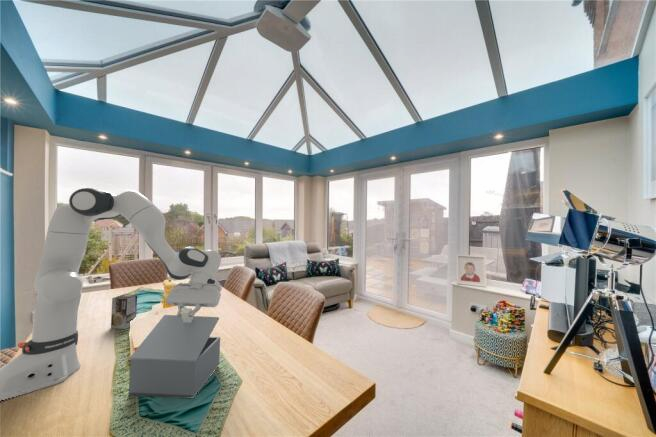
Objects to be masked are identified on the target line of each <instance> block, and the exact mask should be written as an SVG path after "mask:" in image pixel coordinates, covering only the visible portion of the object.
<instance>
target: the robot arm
mask: <svg viewBox="0 0 656 437" xmlns="http://www.w3.org/2000/svg"><path fill="white" fill-rule="evenodd" d="M68 202H69V203H67V204H61V205H59V206H58V207H57V208H55V210H54V212H53V214H52V216H51V219H50V221H49V225H48V227H47V231H46V236H45V240H44V246H43V249H42V254H41V257H40V259H39V263H38V266H37V271H36V273H35V278H34V282H33V286H34V289H35V290H36V301H35V307H34V313H33V314H34V315H33V319H32V332H31V333H32V334H31V339H30V340H28V341H25V340H21V341H20V342H19V343H17V347H18V348H19V349H21V353H20V354H19V355H17V356H15V357H14V358H12V359H11V360H10V361H9V362H7V363H6V364H4V365H3V366H1V367H0V401H1V400H4V399H7V400H9V399H8V398H10V399H13V398H12V397H14V398H16V396H17V397H19V396H18V395H20V396H23V395H25V393H26V394H29V393H31V392H32V393H33V392H34V391H37V390H41V389H44V388H47V387H50V386H53V385H56V384H60V383H63V382H65V381H66V379H67V378H68V377H69V376H70V375H72V374H74V373H76V371H77V370H79V368H80V367H81V364H80V361H79V358H78V357H79V356H78V352H77V345H78V342H79V330H77V329H78V328H77V327H78V326H77V325H78V312H79V306H80V303H81V298H82V294H83V293H82V292H83V288H84V283H83V282H84V281H83V278H82V277H81V275H79V271H80V267H81V264H82V262H83V259H84V256H85V255H86V252H87V247H88V242H89V237H90V232H91V226H92V224H93V222H95V221H96V220H98V221H102V220H108V219H109V220H110V219H115V218H118V217H120V216H122V217H123V218H124V219H126V220H127V221H128V222H129V224H130V225H132V226H133V228H134V229H135V230H136V231H137V232H138V233H139V235H140V236H141V238H142V239H143V240H144V242H145V243H146V245H147V246H148V247H149V249H150V250H152V252H153V253H154V254H155V256H156V257H157V258H158V259H159V260H160V261H161V263H162V264H163V265H164V267H165V270H166V272H167V275H168V276H169V277H170V278H171V279H174V280H177V281H178V280H179V281H181V280H185V279H188V278H189V277H190V279H189V281H188V283H186V282H185V283H183V282H179V283H177V284H175V285H173V287H172V289H171V290H170V291H169V292H168V294H167V295H166V297H165V299H164V302H165V304H167V305H168V306H175V307H177V308H178V309H177V313H176V315H177V316H179V317H182V316H181V312H182V310H183V309H184V308H185V307H195V308H194V309H193V308H192V311H190V312H189V314H188V316H189V317H194V316H196V314H197V313H198V312H199V311H200V310H201V308H216V307H217V306H219V303H220V300H221V296H222V294H221V292H222V290H223V288H222V285H221V283H220V282H219V281H218V280H217V279H215V276H216V275H217V274H218V271H219V269H220V266H221V264H222V263H221V262H222V256H221V254H220V253H219V252H218V251H217V250H214V249H199V248H197V247H194V246H186V247H183V248H182V249H180V251H179V252H178V253H176V251H175V250H174V249H173V248H172V246H171V245H170V243H168V242H167V239H166V236H165V231H166V230H165V229H166V224H167V222H166V218H165V215H164V214H163V212H161V210H160V209H159V208H158V207H157V206H156V205H155V204H154V203H153V202H152V201H151V200H150V199H148V198H147V197H146V196H144V195H143V194H141V193H140V192H139V191H137V190H126V191H123V192H121V193H119V194H117V193H113V192H110V191H107V190H102V189H99V188H93V187H86V188H85V187H84V188H79V189H77V190H75V191H73V192H72V193H71V195H70V196H69V200H68ZM22 394H23V395H22ZM4 401H5V400H4ZM1 402H2V401H1Z"/></svg>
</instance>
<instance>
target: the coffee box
mask: <svg viewBox="0 0 656 437" xmlns="http://www.w3.org/2000/svg"><path fill="white" fill-rule="evenodd" d="M137 305H138V295H135V294H134V295H133V294H120V295H118V296H116V297H115V296H114V297H112V298H111V320H110V322H111V323H110V328H111V329H119V330H120V329H121V330H122V329H123V330H127V329H129V328H131V327H130V321H131V320H133V319H134V318H135V317H136V318H137V307H138V306H137Z"/></svg>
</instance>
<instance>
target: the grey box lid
mask: <svg viewBox="0 0 656 437" xmlns="http://www.w3.org/2000/svg"><path fill="white" fill-rule="evenodd" d="M192 310H193V308H186V307H184V308H182V312H181V316H182V317H179V316H177V314H176V315H175V314H164V315H163V316H162V318H160V320H159V321H158V322H157V324H155V326H154V327H153V329H152V330H151V331H150V332H149V334H148V335H146V338H145V339H143V340H142V342H141V343H140V344H139V345H138V347H137V348H136V349H135V350H134V352H133V353H132V354H131V356H129V358H130V360H131V359H139V360H160V361H182V362H196V361H197V359H198V357H199V355H200V353H201V351H202V349H203V348H204V346H205V344H206V342H207V340H208V338H209V337H211V335H212V333H213V331H214V329H215V327H216V325H217V324H218V322H219V320H220V317H218V316H200V315H199V316H198V315H194V317H189V316H188V314H189V312H190V311H192Z"/></svg>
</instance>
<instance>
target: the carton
mask: <svg viewBox="0 0 656 437" xmlns="http://www.w3.org/2000/svg"><path fill="white" fill-rule="evenodd" d="M220 350H221V336H210V337H209V338H208V340H207V342H206V344H205V346H204V348H203V349H202V351H201V353H200V355H199V357H198V359H197V361H196V362H182V361H160V360H139V359H130V366H129V378H128V380H129V381H128V396H131V397H132V396H133V397H137V396H138V397H149V398H150V397H151V398H152V397H153V398H154V397H155V398H171V397H183V398H182V399H187V398H186V397H194V396H195V395H196V394H197V392H198V391H199V390H200V388H201V387H202V386H203V385H204V383H205V382H206V381H207V380H208V378H209V377H210V375H211V374H212V373H213V371H214V370H215V369H216V368H217V366H218V365H219V366H220ZM217 369H218V368H217ZM213 374H214V373H213ZM210 378H211V377H210ZM210 378H209V379H210ZM208 381H209V380H208ZM208 381H207V382H208ZM207 382H206V383H207ZM204 386H205V385H204ZM204 386H203V387H204ZM203 387H202V388H203ZM200 391H201V390H200ZM200 391H199V392H200ZM199 392H198V393H199ZM197 395H198V394H197ZM197 395H196V396H197ZM196 396H195V397H196ZM184 397H185V398H184Z"/></svg>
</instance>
